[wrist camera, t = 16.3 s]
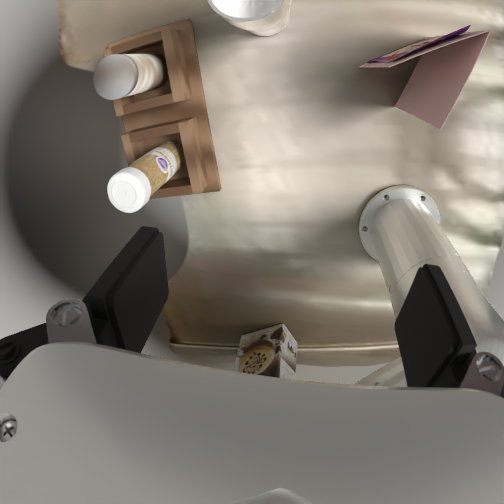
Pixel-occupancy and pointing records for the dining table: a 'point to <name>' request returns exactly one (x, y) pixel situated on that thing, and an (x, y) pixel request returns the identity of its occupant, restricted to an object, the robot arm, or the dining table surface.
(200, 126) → the condiment rack
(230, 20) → the silver metal can
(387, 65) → the greeting card
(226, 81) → the dining table surface
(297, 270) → the dining table surface
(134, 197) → the sprinkles bottle
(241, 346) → the coffee box
